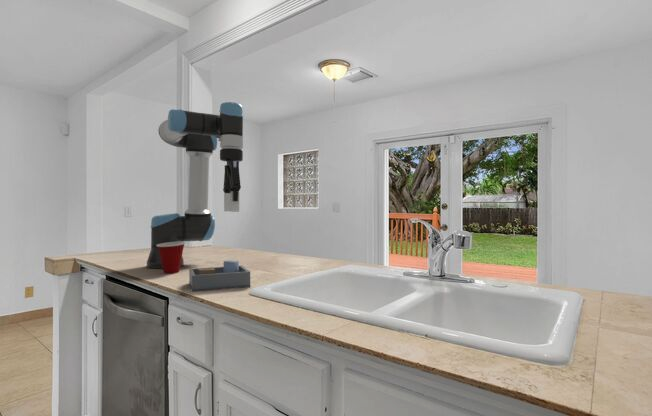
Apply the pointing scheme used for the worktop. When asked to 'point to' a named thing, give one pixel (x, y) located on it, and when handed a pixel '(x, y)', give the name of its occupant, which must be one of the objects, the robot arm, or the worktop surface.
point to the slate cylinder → (231, 266)
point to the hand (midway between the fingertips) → (231, 211)
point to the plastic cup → (171, 256)
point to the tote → (219, 279)
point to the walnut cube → (206, 270)
